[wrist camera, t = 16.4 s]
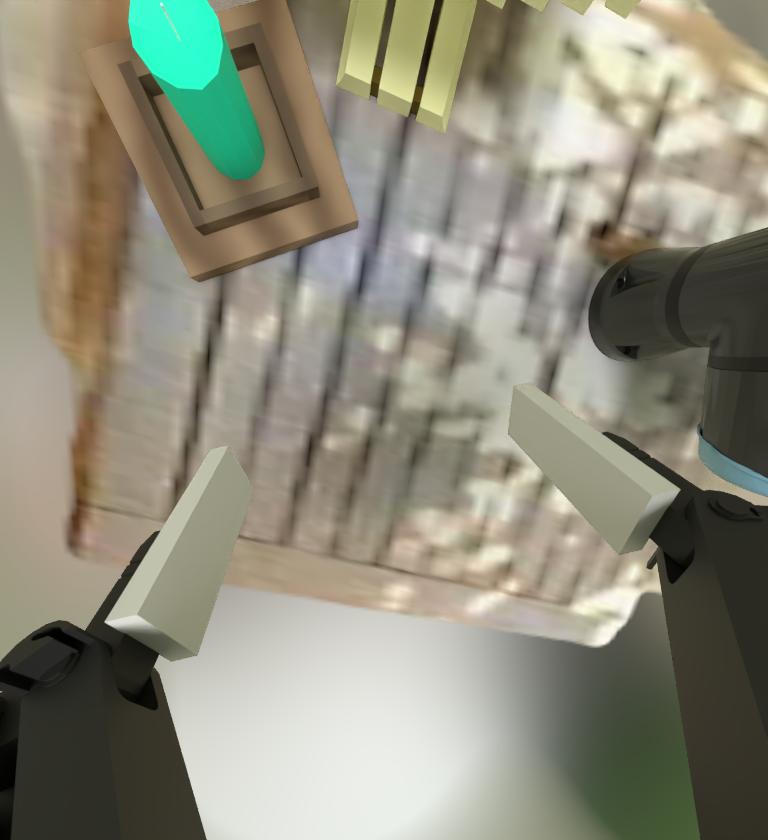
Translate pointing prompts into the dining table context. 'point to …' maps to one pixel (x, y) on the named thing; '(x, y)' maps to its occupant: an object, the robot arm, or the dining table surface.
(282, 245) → the brown square tray
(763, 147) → the dining table surface
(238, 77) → the candle
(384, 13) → the slatted curved stool
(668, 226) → the dining table surface
